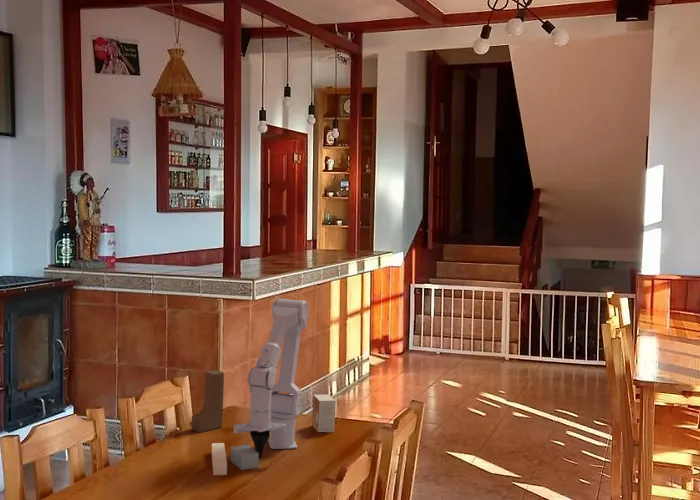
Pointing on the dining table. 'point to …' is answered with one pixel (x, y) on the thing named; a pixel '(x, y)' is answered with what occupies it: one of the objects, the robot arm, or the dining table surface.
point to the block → (244, 457)
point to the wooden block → (211, 403)
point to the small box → (323, 413)
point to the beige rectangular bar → (219, 459)
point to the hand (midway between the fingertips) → (258, 457)
